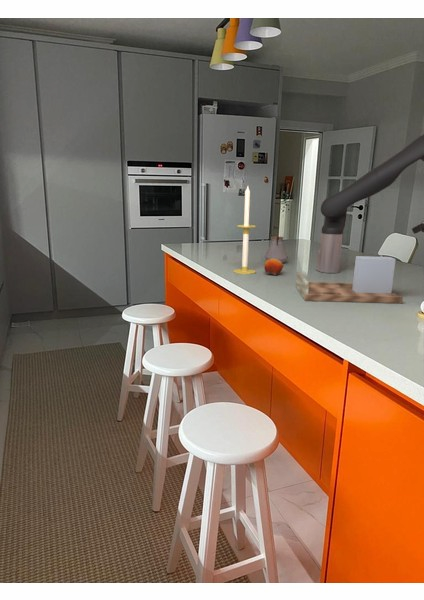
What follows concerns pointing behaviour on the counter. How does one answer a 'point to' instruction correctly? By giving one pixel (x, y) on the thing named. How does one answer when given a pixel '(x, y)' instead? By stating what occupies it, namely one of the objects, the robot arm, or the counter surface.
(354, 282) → the block
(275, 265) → the fruit
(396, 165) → the robot arm
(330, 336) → the counter surface
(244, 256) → the candle
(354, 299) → the lane
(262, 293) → the counter surface
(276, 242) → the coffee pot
